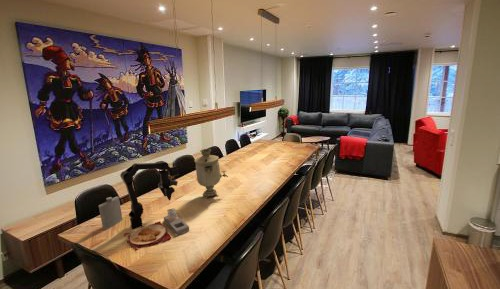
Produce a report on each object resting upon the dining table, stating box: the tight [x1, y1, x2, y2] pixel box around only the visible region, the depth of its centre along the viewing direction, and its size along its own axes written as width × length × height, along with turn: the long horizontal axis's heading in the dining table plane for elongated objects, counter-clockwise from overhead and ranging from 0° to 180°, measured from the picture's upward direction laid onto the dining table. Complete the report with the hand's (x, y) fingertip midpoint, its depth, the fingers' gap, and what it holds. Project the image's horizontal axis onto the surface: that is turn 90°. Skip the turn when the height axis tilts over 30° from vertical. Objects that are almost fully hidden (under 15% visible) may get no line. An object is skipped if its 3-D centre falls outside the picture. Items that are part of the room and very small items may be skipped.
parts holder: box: [163, 213, 190, 236], centre depth 179 cm, size 8×24×3 cm, turn 36°
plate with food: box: [123, 220, 173, 252], centre depth 168 cm, size 24×26×4 cm
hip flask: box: [98, 196, 123, 231], centre depth 184 cm, size 16×4×20 cm, turn 161°
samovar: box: [194, 148, 229, 200], centre depth 221 cm, size 30×26×40 cm
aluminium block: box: [166, 207, 177, 220], centre depth 183 cm, size 4×4×6 cm
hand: (167, 198), depth 194 cm, fingers open, 9 cm apart
